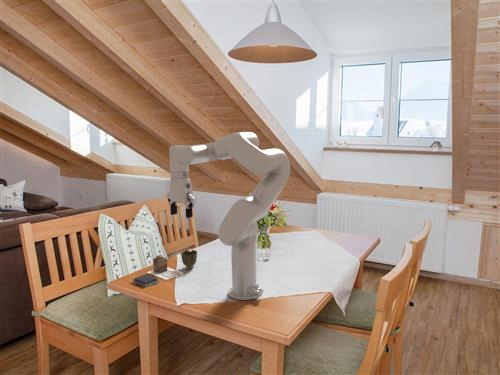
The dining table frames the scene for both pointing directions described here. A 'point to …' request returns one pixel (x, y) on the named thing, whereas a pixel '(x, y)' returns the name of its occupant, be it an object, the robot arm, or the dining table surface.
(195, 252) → the carved brown lampshade
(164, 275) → the sheet
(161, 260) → the stamp
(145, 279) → the ink pad
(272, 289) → the dining table surface
